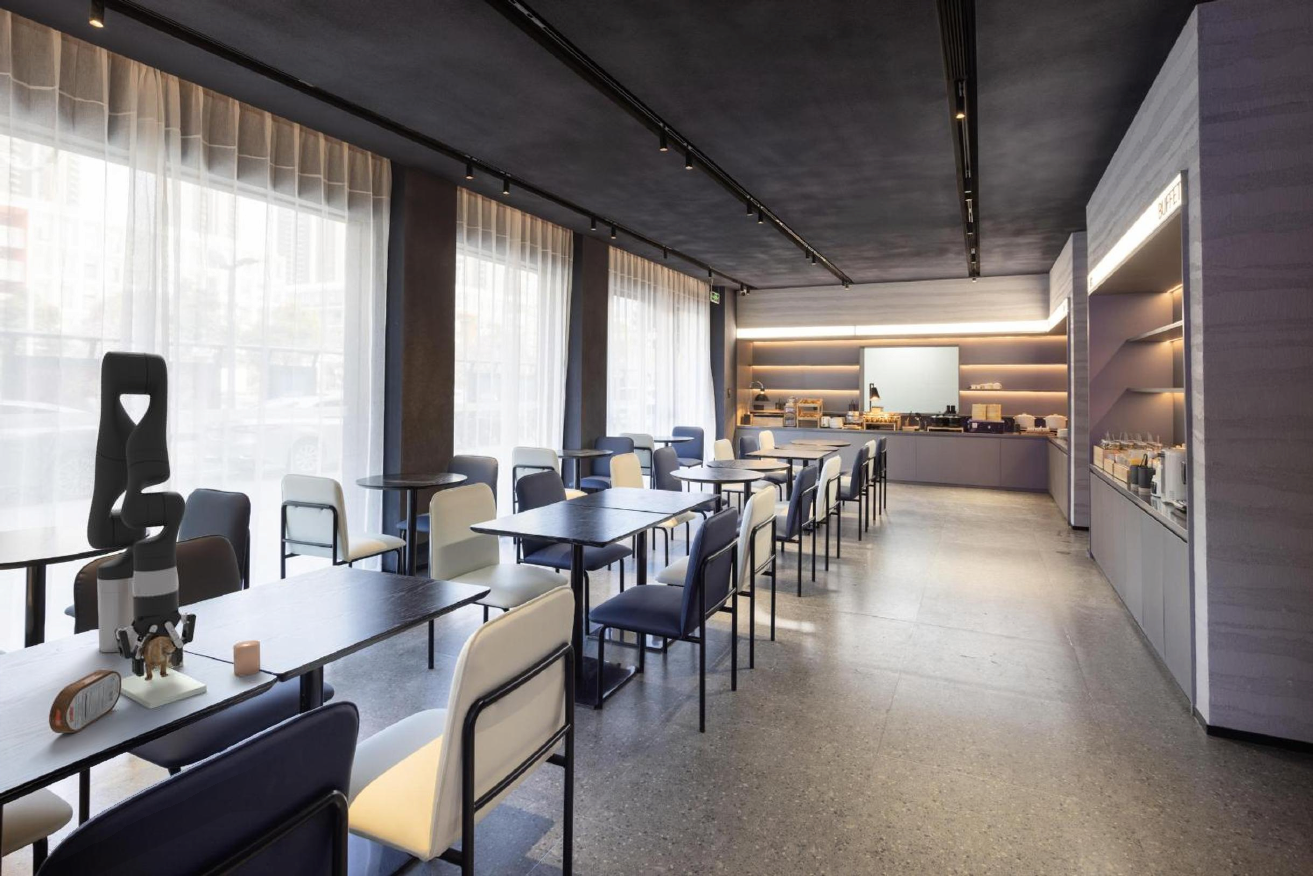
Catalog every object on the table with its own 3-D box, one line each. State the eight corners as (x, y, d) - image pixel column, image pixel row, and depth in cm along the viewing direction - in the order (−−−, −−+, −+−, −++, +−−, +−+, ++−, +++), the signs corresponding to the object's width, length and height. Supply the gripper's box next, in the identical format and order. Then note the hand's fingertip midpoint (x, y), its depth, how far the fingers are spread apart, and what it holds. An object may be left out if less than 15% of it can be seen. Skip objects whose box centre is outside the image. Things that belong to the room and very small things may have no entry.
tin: (108, 704, 134) (107, 662, 134) (126, 704, 134) (124, 662, 134) (47, 742, 119) (45, 695, 119) (66, 742, 119) (65, 694, 119)
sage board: (111, 687, 142) (110, 681, 142) (166, 671, 150) (166, 666, 150) (149, 709, 132) (149, 703, 132) (206, 691, 141) (206, 685, 141)
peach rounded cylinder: (229, 672, 150) (228, 645, 150) (252, 665, 155) (252, 639, 154) (241, 677, 148) (240, 650, 147) (264, 670, 152) (264, 643, 152)
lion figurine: (176, 681, 138) (175, 637, 138) (143, 687, 135) (142, 642, 135) (174, 658, 150) (174, 618, 150) (144, 663, 147) (143, 622, 147)
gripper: (186, 579, 148) (188, 656, 149) (105, 594, 136) (108, 678, 137) (203, 584, 144) (205, 663, 145) (121, 601, 132) (124, 686, 133)
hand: (158, 670), depth 141 cm, fingers closed on lion figurine, 6 cm apart
